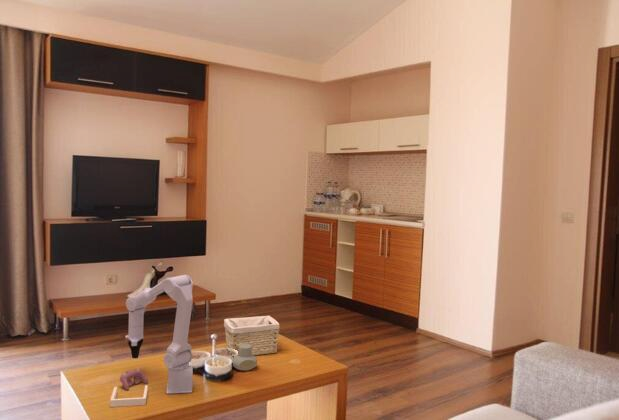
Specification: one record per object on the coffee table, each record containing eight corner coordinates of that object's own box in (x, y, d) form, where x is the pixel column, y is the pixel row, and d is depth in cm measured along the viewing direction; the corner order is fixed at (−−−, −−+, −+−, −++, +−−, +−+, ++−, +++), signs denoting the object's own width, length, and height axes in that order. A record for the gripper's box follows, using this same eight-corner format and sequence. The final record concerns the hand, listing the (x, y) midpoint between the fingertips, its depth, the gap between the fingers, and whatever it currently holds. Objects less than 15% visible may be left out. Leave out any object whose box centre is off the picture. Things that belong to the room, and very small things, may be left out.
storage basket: (230, 359, 238) (231, 327, 237) (222, 348, 253) (223, 318, 252) (280, 354, 247) (281, 323, 246) (269, 343, 262) (270, 314, 261)
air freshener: (234, 373, 221) (235, 350, 221) (229, 366, 229) (230, 344, 228) (259, 370, 226) (260, 347, 225) (253, 363, 233) (254, 341, 233)
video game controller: (143, 385, 209) (139, 367, 211) (149, 383, 206) (145, 365, 208) (121, 392, 201) (116, 374, 203) (127, 390, 199) (122, 372, 200)
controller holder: (147, 391, 200) (147, 385, 199) (145, 404, 188) (145, 398, 188) (114, 393, 197) (114, 386, 197) (110, 407, 185) (110, 400, 185)
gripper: (127, 320, 219) (126, 352, 220) (123, 330, 205) (123, 364, 206) (145, 320, 221) (144, 351, 222) (142, 330, 207) (141, 363, 208)
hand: (135, 357), depth 214 cm, fingers closed
